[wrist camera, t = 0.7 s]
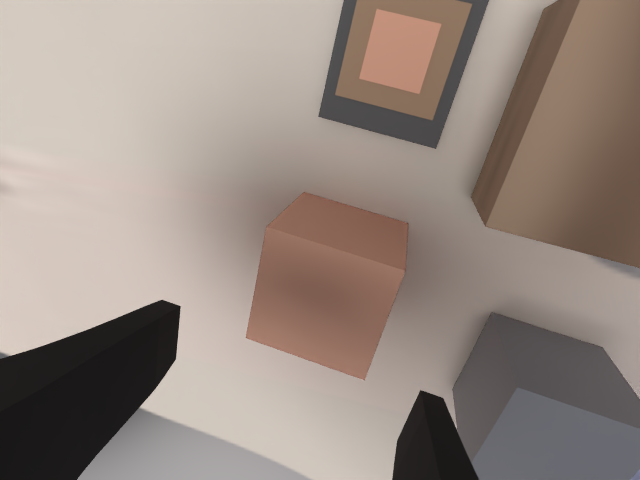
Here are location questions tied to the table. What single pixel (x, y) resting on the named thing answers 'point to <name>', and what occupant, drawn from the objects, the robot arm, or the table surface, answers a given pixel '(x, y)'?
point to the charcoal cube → (545, 407)
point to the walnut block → (572, 135)
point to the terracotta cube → (328, 282)
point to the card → (400, 65)
